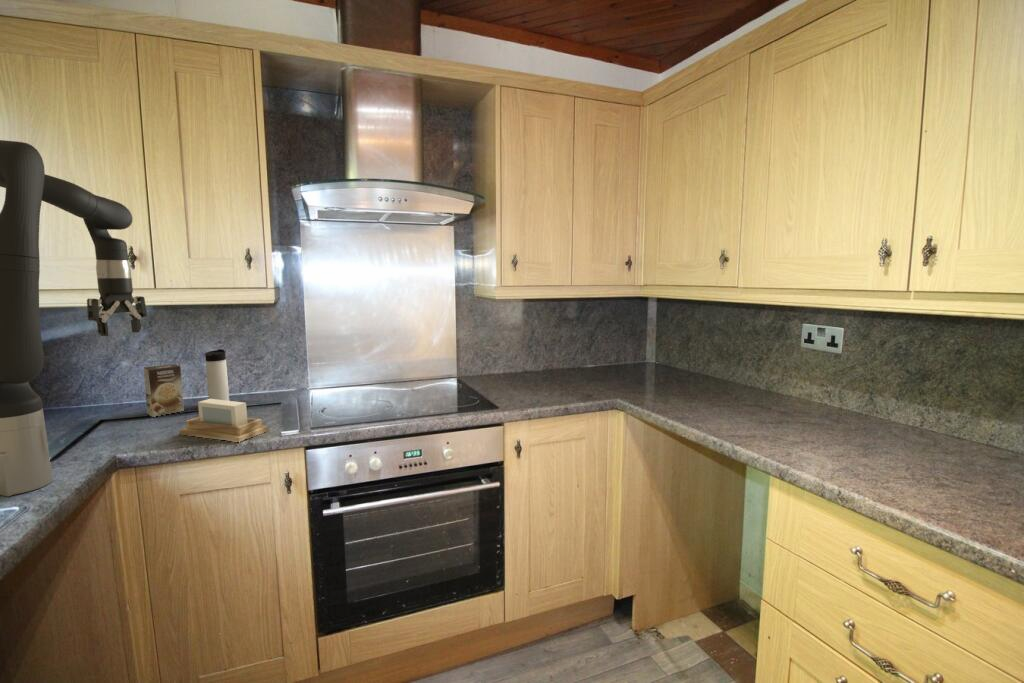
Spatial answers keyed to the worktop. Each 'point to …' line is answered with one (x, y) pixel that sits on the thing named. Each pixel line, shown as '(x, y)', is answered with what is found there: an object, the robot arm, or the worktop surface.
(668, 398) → the worktop surface
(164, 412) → the coffee box
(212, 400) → the cream rectangular block
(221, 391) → the travel mug
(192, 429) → the wooden tray
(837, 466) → the worktop surface
